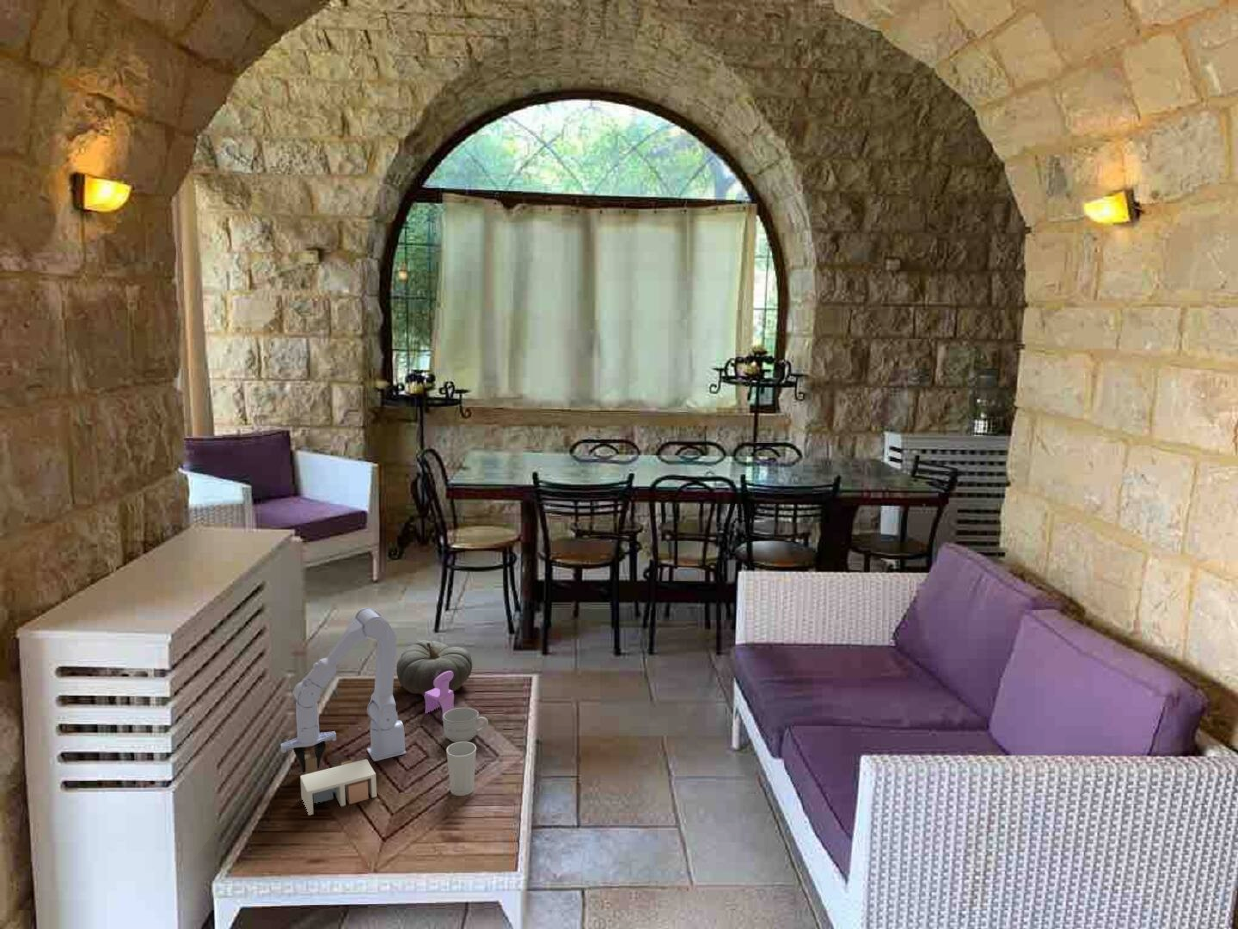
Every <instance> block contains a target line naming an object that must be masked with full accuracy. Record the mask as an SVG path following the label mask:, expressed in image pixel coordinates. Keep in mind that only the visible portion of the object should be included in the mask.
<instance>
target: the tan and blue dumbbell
mask: <svg viewBox="0 0 1238 929" xmlns="http://www.w3.org/2000/svg"><path fill="white" fill-rule="evenodd" d="M305 769H306V771H305V772H303V773H305V774H309V773H313V772H317V771H318V769H317V757H316V755H315V752H312V753H308V754H305ZM305 774H304V775H305ZM312 798H313V804H314V803H316V804H319V803H318V802H320V803H323V801H324V802H327V801H331V800H334V791H333V788H332V789H328V790H324V791H320V792H316V793H313V794H312Z"/></svg>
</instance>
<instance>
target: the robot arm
mask: <svg viewBox="0 0 1238 929" xmlns="http://www.w3.org/2000/svg"><path fill="white" fill-rule="evenodd" d="M367 637H368V638H370V639H373V640H376V641H377V644H376V645H377V646H376V660H375V676H374V691H373V692H372V694H371V695H370V701H369V703H367V704H368V705H367V707H366V713H367V715H368V717H370V723H369V733H370V747H367V748H366V751H367V752H368V754H369V756H370V758H371V759H372V761H373V762H378V761H382V760H385V759H389V758H393V757H399V756H401V755H405V754H407V751H406V740H405V739H406V738H405V737H406V736H405V727H404V724H403V722H402V720H399V714H398V712H397V710H396V706H397V704H396V700H395V698H394V695H393V694H394V681H395V680H394V679H395V666H396V664H395V663H396V651H397V650H396V649H397V634H396V633H395V631H394V629H393V627H392V625H391V624H390V622H389V621H388V620H387V619H385V618H384V617H383V616H382V615H381V614H380V613H379V612H377V610H374V609H373V608H371V607H363V608H360V610H358V612H357V613H356V614H355V616H354V617H353V618H352V619H350V621H349V624H348V626H347V627H346V628H345V631H344V632H343V633H342V635H341V637H340V638H339V639H338V641H337V642H336V644H335V645H334V646H333V647H332V649H331V650H330V652H329V653H328V655H327V656H326V657H324V658H320V659H319V660H318V661H317V662H313V665H312V669H311V670H310V671H309V673H308V674H307V675H306V676H305V677H302V679H301V681H300V682H298V683H296V685H295V686H294V688H293V691H292V692H291V693H292V696H293V698H294V699H295V700H296V701H295V708H296V709H295V712H296V713H295V716H296V717H295V718H296V731H297V732H296V733H297V734H296V735H297V737H295V738H293V739H290V740H288V741H285V742H282V743H280V750H281V753H282V754H284V753H287V751H291V750H293V753H294V754H295V756H296V758H297V759H298V761H299V764H300V768H301V771H302V773H304V772H305V771H306V769H305V755H306V752H305V750H304V748H306V747H312V746H313V749H314V752H313V753H315V755H316V757H317V770H320V764H321V760H322V757H323V755H324V752H325V750H326V748H327V744H326V742H329V741H333V742H334V741H337V733H336V731H335V730H334V731H327V732H320V724H319V722H320V721H319V707H318V702H319V701H320V698H321V693H322V691H323V689H324V688H325V687H326V685H327V684H328V683H329V682H330V680H331V679H332V678H333V677H334V675H335V674H336V673H337V670H338V669H337V664H338V663H340V661H341V660H342V659H343V658H344V656H345V655H346V654H347V653H348V652H349V651H350V649H352V647H353V646H354V645H356V643H361V642H367V641H368V640H369V639H368V638H367Z"/></svg>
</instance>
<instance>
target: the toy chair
mask: <svg viewBox="0 0 1238 929" xmlns="http://www.w3.org/2000/svg"><path fill="white" fill-rule="evenodd" d="M452 678H453V672H452V671H446V672H444V673H442V674H440V675H439V676H438V677H437V678H436V679H435V680H434V682H433V684H434V686H435V688H434V689H432V690H430V691H427V692H425V695H424V696H423V697H424V701H425V710H424V711H425V712H424V713H425V715H426V713H427V714H428V712H429V713H430V711H431V712H432V711H434V709H435V710H437V709H438V707H439V706H440V707H441V710H442V711H441V712H442V714H441V715H442V716H441V721H443V714H444V713H445V712H447V711H449V710H451V709H455V705H454V702H455V701H454V699H455V694H454V691H452V690H449V682H450V681H451V680H452ZM440 707H439V708H440ZM436 708H437V709H436Z"/></svg>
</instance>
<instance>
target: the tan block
mask: <svg viewBox="0 0 1238 929" xmlns="http://www.w3.org/2000/svg"><path fill="white" fill-rule="evenodd" d="M353 762H354V761H353V760H352V759H350V760H346V761H342V762H340V764H341V765H345V764H349V763H353ZM341 765H340V766H341ZM345 799H346V800H347V802H348V804H349V805H352V804H355V803H358V802H362V801H366V800H369V791H368V781H367V780H362V781H358V782H354V783H350V784H347V785H345Z"/></svg>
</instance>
